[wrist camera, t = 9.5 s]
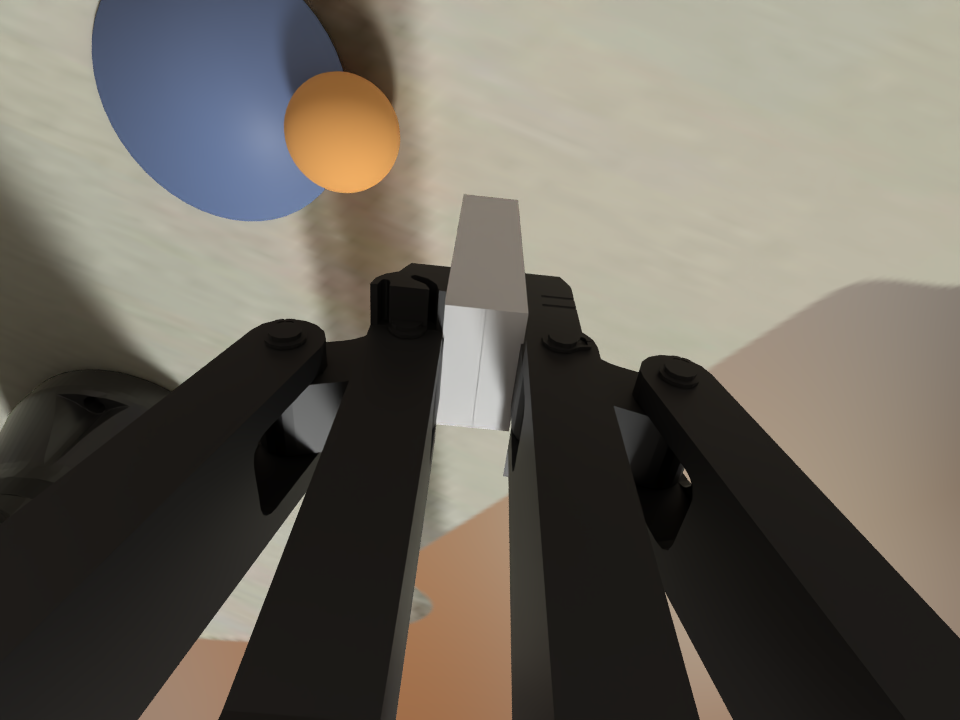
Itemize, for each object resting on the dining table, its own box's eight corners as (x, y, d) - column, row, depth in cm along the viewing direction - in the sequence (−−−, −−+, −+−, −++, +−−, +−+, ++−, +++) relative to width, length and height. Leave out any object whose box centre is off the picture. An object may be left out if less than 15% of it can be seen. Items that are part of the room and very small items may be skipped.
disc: (233, 260, 34) (232, 261, 34) (41, 60, 29) (38, 61, 28) (400, 134, 30) (399, 135, 30) (213, -129, 24) (211, -130, 24)
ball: (381, 227, 28) (347, 188, 32) (438, 128, 27) (395, 99, 30) (278, 178, 25) (253, 140, 28) (337, 59, 23) (302, 35, 27)
